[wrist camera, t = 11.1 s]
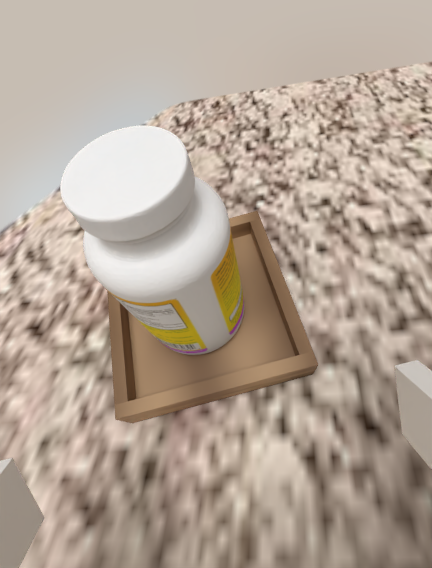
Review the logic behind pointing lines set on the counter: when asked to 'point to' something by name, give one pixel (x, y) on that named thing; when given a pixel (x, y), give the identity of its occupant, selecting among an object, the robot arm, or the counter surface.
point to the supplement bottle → (157, 237)
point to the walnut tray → (225, 360)
